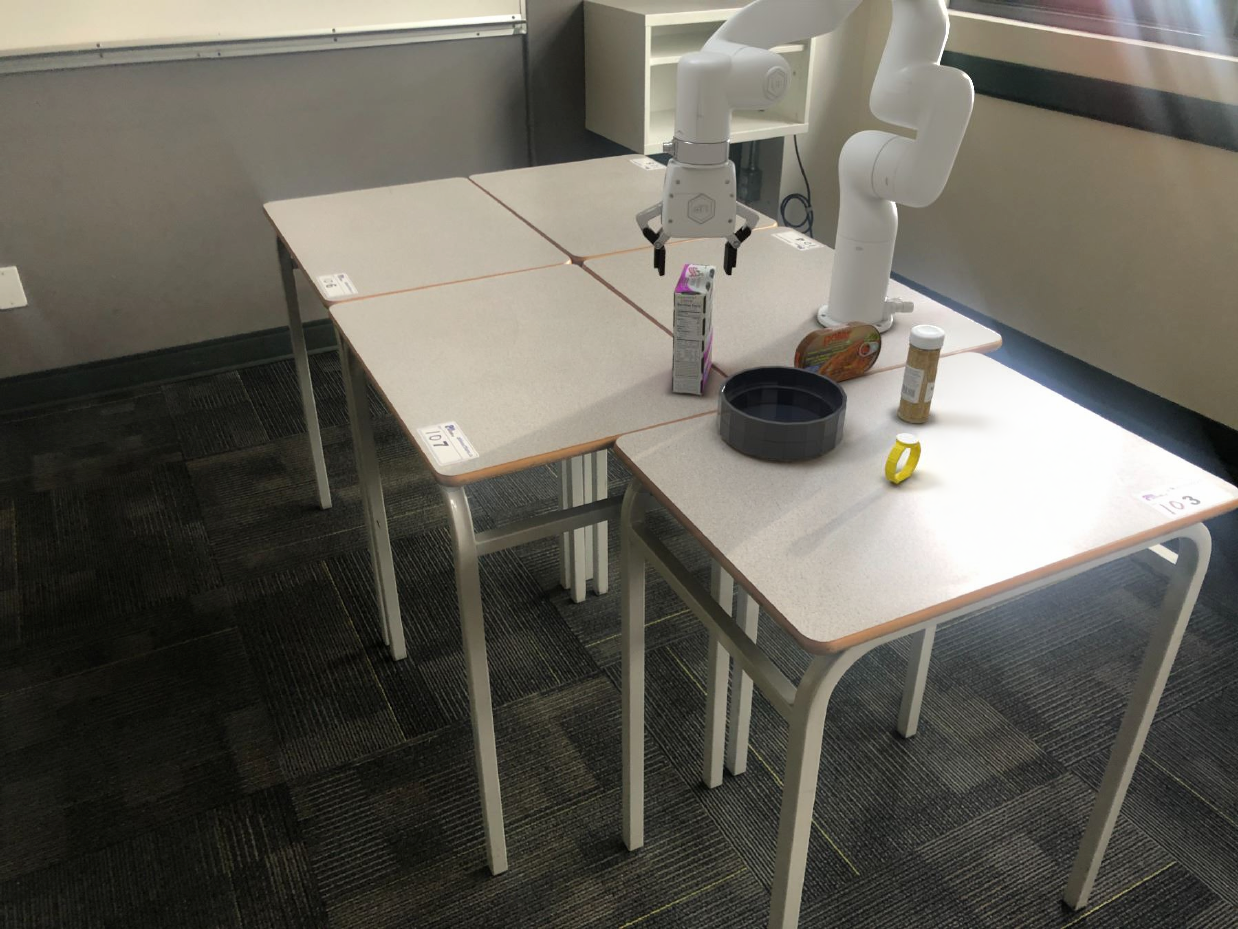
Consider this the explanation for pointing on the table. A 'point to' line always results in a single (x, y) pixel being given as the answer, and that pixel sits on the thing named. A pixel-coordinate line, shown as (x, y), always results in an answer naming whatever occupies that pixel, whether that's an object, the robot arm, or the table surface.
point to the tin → (840, 350)
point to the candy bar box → (693, 329)
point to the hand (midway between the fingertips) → (694, 272)
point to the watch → (895, 454)
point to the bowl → (781, 412)
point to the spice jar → (920, 373)
